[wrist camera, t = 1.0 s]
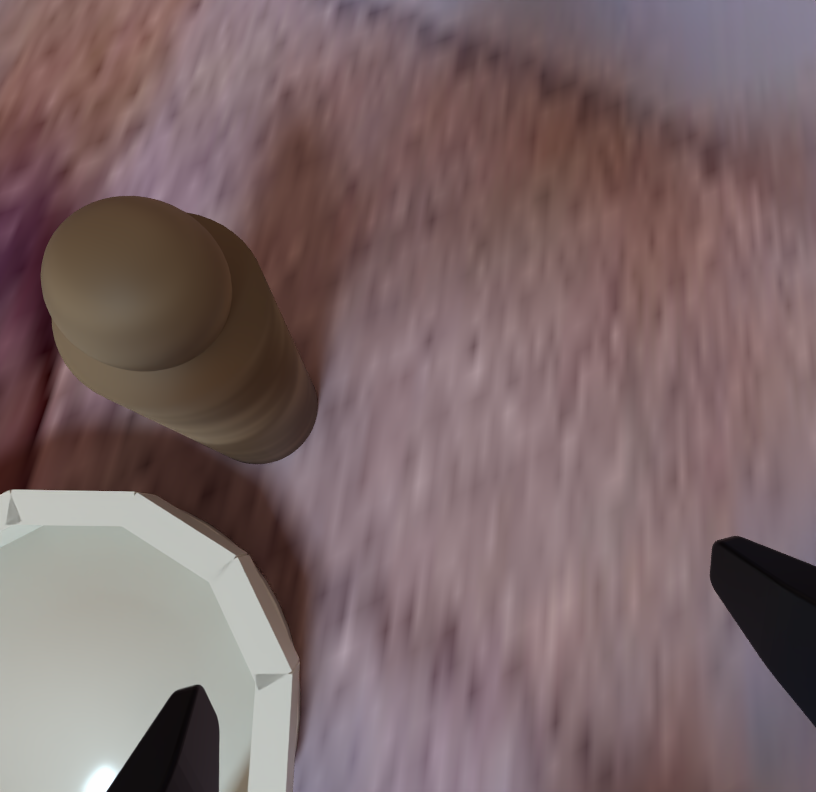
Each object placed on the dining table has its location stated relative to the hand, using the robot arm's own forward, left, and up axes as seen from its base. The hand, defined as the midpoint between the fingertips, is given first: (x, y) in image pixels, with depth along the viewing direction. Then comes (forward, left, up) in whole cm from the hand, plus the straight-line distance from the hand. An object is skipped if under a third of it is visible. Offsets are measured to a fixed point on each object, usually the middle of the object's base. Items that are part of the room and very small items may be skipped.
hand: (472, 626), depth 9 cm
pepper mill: (+2, +9, -13) cm, 16 cm away
